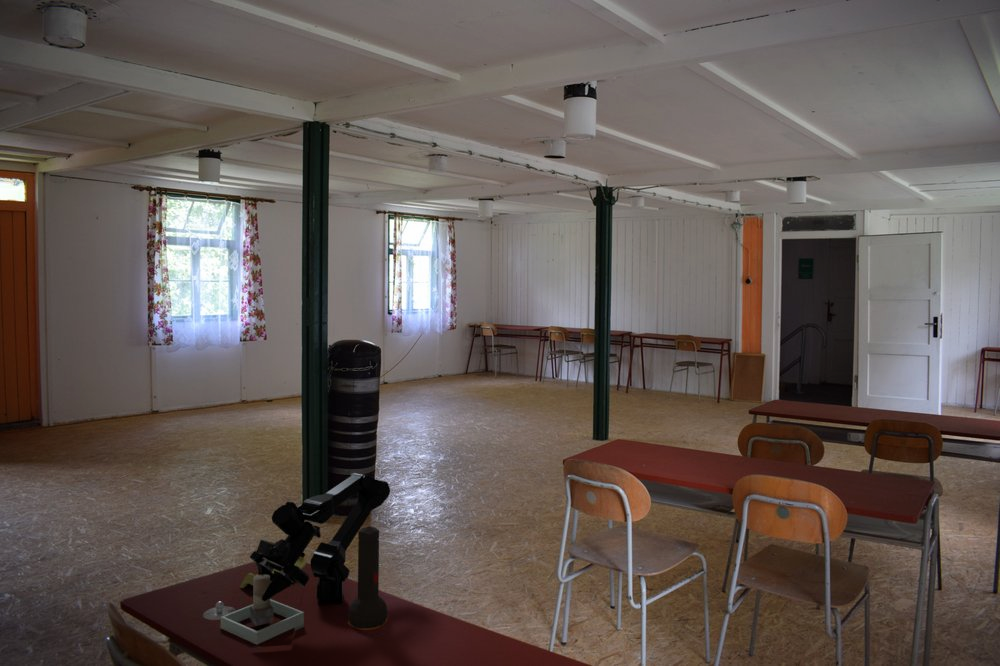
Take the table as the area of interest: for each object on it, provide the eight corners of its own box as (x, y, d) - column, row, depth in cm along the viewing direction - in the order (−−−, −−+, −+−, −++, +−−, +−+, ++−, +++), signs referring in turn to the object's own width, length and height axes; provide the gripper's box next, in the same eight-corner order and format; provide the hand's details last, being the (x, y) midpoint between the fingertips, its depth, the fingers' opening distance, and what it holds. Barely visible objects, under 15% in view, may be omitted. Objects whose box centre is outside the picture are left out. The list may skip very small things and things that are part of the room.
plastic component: (273, 589, 201) (245, 570, 203) (264, 610, 203) (236, 591, 205) (312, 560, 220) (286, 542, 222) (304, 579, 221) (278, 562, 224)
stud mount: (238, 609, 193) (238, 594, 193) (232, 622, 185) (232, 607, 185) (206, 610, 192) (206, 596, 191) (199, 624, 184) (199, 609, 183)
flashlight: (340, 622, 186) (368, 633, 181) (341, 527, 185) (369, 535, 180) (367, 609, 195) (394, 618, 189) (368, 518, 193) (396, 524, 188)
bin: (267, 612, 192) (268, 598, 191) (303, 626, 184) (303, 612, 183) (220, 631, 180) (220, 617, 180) (256, 648, 172) (256, 632, 172)
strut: (267, 615, 184) (267, 572, 184) (273, 621, 181) (273, 578, 180) (250, 619, 182) (250, 576, 181) (255, 625, 178) (255, 582, 178)
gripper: (256, 519, 189) (216, 572, 181) (298, 535, 178) (258, 593, 170) (282, 541, 196) (245, 593, 188) (324, 558, 184) (287, 614, 176)
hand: (258, 598), depth 180 cm, fingers closed on strut, 4 cm apart
